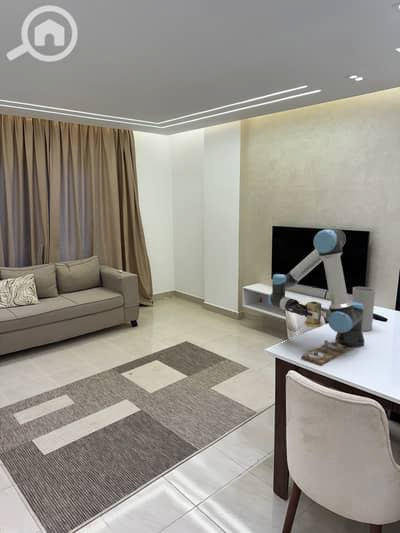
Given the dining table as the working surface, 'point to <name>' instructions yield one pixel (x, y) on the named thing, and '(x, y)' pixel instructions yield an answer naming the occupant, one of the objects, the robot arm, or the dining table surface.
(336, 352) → the board
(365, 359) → the dining table surface
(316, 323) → the yellow tan stepped cylinder
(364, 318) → the cylinder vase
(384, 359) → the dining table surface
